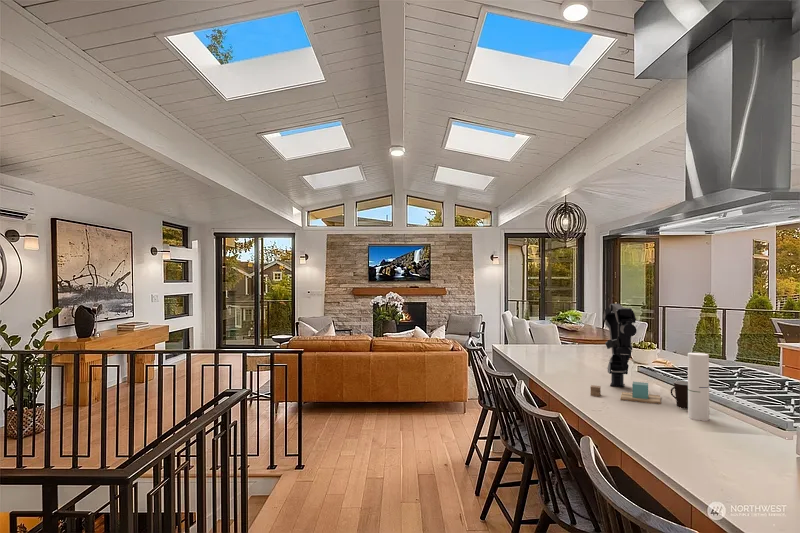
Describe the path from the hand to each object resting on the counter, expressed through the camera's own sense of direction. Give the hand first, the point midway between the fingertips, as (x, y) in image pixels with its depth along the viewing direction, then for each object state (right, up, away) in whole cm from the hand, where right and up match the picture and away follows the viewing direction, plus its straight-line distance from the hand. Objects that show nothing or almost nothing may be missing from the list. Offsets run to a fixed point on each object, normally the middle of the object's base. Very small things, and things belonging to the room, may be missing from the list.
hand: (624, 366), depth 245 cm
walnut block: (-16, -12, -6) cm, 21 cm away
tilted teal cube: (+1, -11, -13) cm, 17 cm away
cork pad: (+1, -12, -13) cm, 18 cm away
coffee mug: (+12, -12, -27) cm, 32 cm away
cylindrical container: (+9, -11, -45) cm, 47 cm away
